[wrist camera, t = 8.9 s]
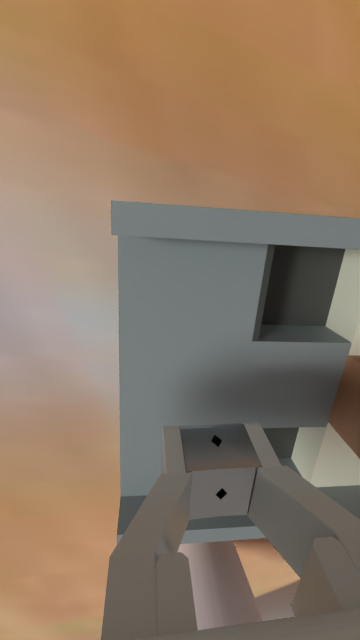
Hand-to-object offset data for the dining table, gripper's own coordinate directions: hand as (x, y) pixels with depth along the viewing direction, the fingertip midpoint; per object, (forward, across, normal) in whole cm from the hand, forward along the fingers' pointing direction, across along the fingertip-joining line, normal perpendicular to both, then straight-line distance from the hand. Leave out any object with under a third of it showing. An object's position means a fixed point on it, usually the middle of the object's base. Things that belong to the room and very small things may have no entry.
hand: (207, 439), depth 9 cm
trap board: (+7, -5, +2) cm, 9 cm away
